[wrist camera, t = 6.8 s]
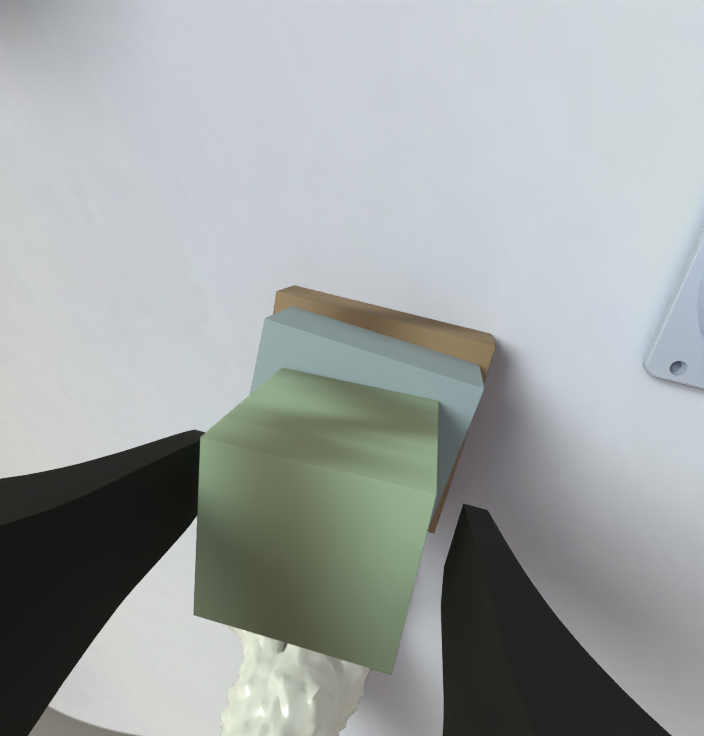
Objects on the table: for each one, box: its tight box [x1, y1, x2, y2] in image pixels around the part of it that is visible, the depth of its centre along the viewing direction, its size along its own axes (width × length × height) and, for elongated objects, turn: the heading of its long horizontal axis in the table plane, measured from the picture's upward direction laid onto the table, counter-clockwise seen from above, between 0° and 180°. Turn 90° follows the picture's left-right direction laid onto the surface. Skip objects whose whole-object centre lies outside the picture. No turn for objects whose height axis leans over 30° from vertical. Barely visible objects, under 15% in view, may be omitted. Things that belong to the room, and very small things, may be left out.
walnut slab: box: [273, 285, 496, 533], centre depth 18 cm, size 8×8×2 cm
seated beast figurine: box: [220, 625, 370, 736], centre depth 17 cm, size 10×9×12 cm
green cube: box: [194, 368, 438, 675], centre depth 12 cm, size 5×5×5 cm
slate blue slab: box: [250, 306, 484, 531], centre depth 16 cm, size 7×7×2 cm
